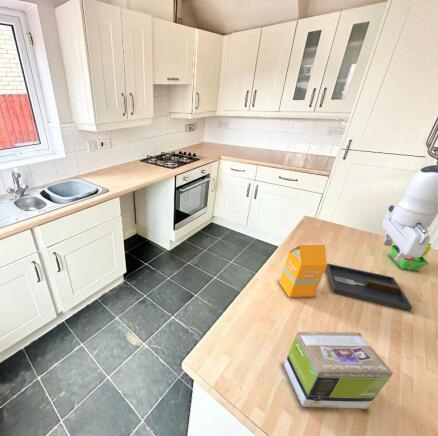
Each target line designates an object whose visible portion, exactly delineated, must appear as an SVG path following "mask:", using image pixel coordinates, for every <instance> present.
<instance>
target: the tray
mask: <svg viewBox="0 0 438 436" xmlns="http://www.w3.org/2000/svg"><path fill="white" fill-rule="evenodd" d="M325 271H326V274H327V278H328V280H329V284H330V287H331V290H332V293H334V294H337V295H342V296H346V297H350V298H353V299H358V300H361V301H367V302H370V303H375V304H379V305H382V306H386V307H391V308H394V309H398V310H402V311H407V312H410V311H411V310H412V308H413V306H412V304H411V302H410V301H409V300H408V298H407V296H406V295H405V293H404V292H403V290H402V289H401V287H400V285H399V284H398V282H397V281H396V279H395V278H394V277H393V276H390V275H385V274H380V273H376V272H371V271H366V270H365V271H364V270H361V269H356V268H351V267H346V266H341V265H337V264H333V263H328V262H327V267H326V269H325ZM334 276H335V277H340V278H344V279H349V280H354V282H356V283H361V284H364V283H365V281H366V280H367V279H369V280H374V281H378V282H383V283H387V284H392V285H397V286H398V287H399V288H400V289H399V291H398V292H397V294H392V293H388V292H383V291H379V290H374V289H370V288H366V287H363V286H359V285H356V286H353V285H348V284H345V283H340V282H336V281H335V280H334Z"/></svg>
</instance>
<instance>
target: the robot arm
mask: <svg viewBox="0 0 438 436" xmlns="http://www.w3.org/2000/svg"><path fill="white" fill-rule="evenodd" d="M387 210H388V211H387V212H386V213H385V215H384V218H383V220H382V224H381V227H382V229H383V230H384V231H385V233H384V240H383V242H382V243H383V245H384V246H385V247H391V245H393V243H394V245H397V246H398V247H399V249H400V251H399V252H400V253H399V254H396V255H395V257H394V259H395V260H396V261H399V262H402V261H403V260H404V258H406V257H408V256H410V257H415V258H419V257H421V256H422V255H423V253H424V252H425V250H426V248H427V246H428V244H429V243H430V241H431V237H430V234H429V230H428V228H430V227H431V226H432V224H433V223H434V221H435V219H436V218H437V216H438V164H432V165H427V166H424V167H421V168H420V169H419V170H418V171H417V172H416V173H415V174H414V176H413V177H412V178H411V180H410V181H409V183H408V185H407V187H406V189H405V190H404V195H403V197H402V199H401V200H399V202H398V204H396V203H390V204H389V205H388V207H387ZM422 257H423V256H422Z"/></svg>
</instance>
